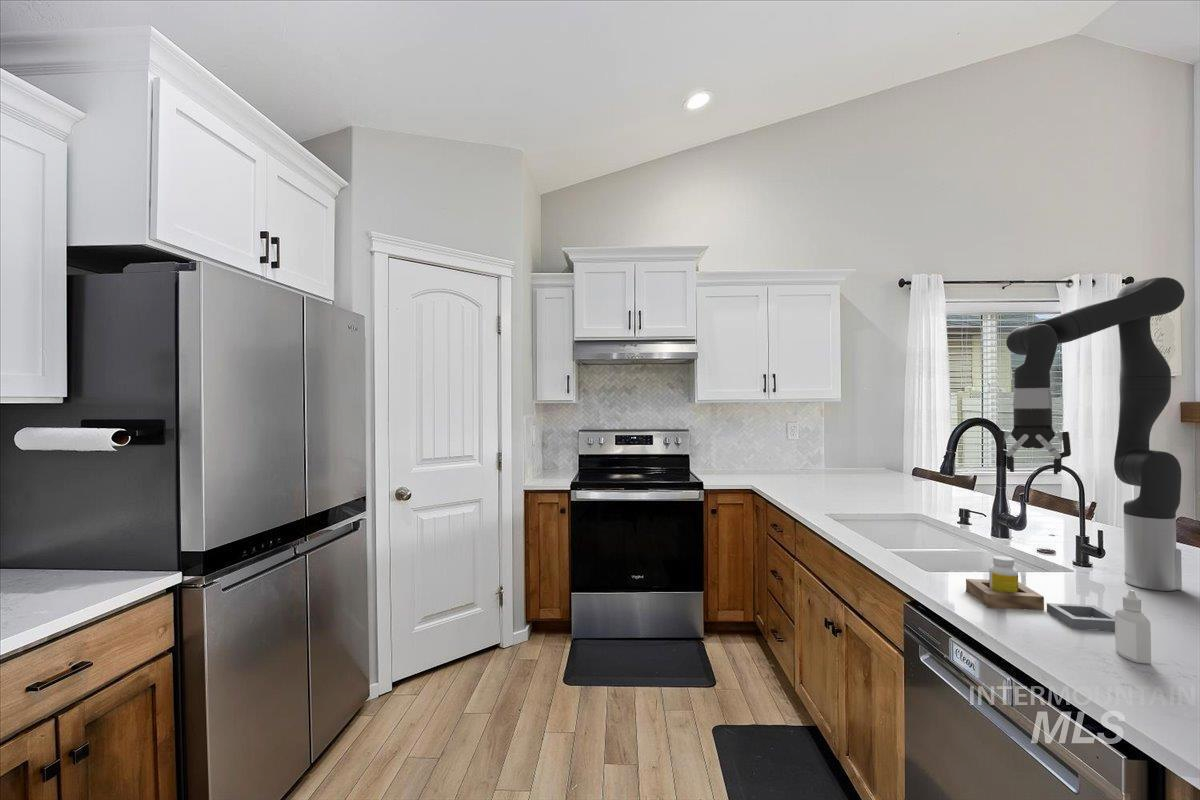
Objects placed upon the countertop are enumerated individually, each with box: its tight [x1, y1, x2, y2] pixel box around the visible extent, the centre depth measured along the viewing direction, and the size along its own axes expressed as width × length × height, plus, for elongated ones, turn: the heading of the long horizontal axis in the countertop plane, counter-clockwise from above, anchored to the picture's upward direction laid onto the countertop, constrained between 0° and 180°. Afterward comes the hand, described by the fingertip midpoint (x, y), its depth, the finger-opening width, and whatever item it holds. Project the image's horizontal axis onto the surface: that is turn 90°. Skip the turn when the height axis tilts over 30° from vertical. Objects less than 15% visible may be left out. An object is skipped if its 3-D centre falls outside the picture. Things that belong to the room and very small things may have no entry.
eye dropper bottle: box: [1114, 589, 1152, 665], centre depth 101 cm, size 4×6×12 cm
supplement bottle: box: [988, 555, 1019, 592], centre depth 130 cm, size 5×5×10 cm
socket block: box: [965, 578, 1045, 612], centre depth 130 cm, size 11×11×3 cm
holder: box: [1046, 602, 1115, 632], centre depth 117 cm, size 9×9×2 cm
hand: (1033, 472), depth 138 cm, fingers open, 8 cm apart
